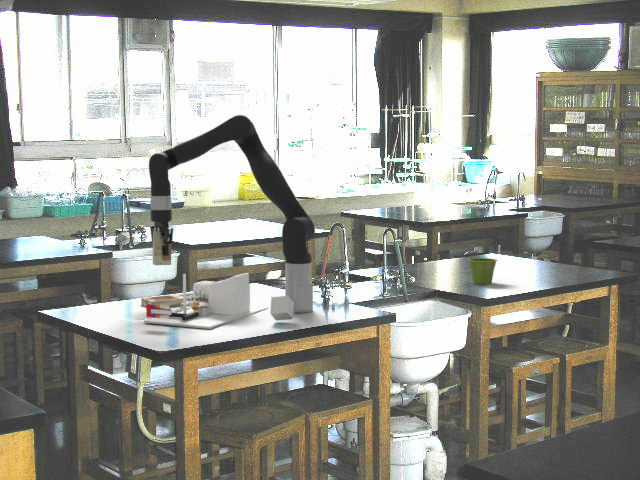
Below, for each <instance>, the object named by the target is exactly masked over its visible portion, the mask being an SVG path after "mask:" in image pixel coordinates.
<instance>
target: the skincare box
mask: <svg viewBox="0 0 640 480" xmlns="http://www.w3.org/2000/svg"><path fill="white" fill-rule="evenodd" d="M163 237H165V235H164V236H163ZM169 240H170V238H169ZM164 242H165V239H164ZM162 246H163V245H162V240H160V232H158V231H153V242H152V265H153V266H171V265H172V244H170V245H169V255H168V256H163V255H162Z"/></svg>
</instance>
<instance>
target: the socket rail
mask: <svg viewBox="0 0 640 480" xmlns="http://www.w3.org/2000/svg"><path fill="white" fill-rule="evenodd" d="M190 295H193V292H188V293H187V292H186V297H187V296H190ZM140 300H141V306H144V307H146V305H147V304H153V305H163V306H169V307H170V308H173V307H181V306H182V307H183V305H181V303H183V293H180V294H178V293H177V294H169V295H160V296H150V297H149V296H148V297H141V299H140ZM187 301H189V300H188V297H187ZM192 301H194V300H192Z"/></svg>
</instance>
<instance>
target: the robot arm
mask: <svg viewBox="0 0 640 480" xmlns="http://www.w3.org/2000/svg"><path fill="white" fill-rule="evenodd" d="M232 141H233V142H235V143H236V144H237V146H238V147H239V148H240V150H241V151H242V153H243V155H244V156H245V157H246V160H247V162H248V164H249V167H250V169H251V170H250V171H251V173H252V175H253V177H254V179H255V181H256V183H257V184H258V186H259V188H260V190H261V191H262V193H263V194H264V195H265V196H266V199H268V200H269V201H271V202H272V203H273V204H274V205H275V206H276V207H277V208H278V209H279V210H280V211H281V212H282V214H283V215H284V217H285V218H286V219H285V222H284V223H283V225H282V230H281V239H282V254H283V256H284V264H285V265H284V268H285V269H284V271H285V272H284V273H285V274H284V275H285V276H284V277H285V278H284V282H285V283H284V284H285V285H284V287H285V288H284V290H285V291H284V292H285V293H284V294H285V295H284V296H289V297H290V299H291V300H292V301H293V302H294V310H293V314H296V313H297V314H302V313H303V314H304V313H311V312H312V313H313V311H314V301H313V299H314V292H313V291H314V286H313V284H312V254H310V252H308V249H307V242H309V241H312V239H313V238H314V236H315V233H316V228H315V224H314V222H313V219H311V218H310V216H309V214H308V213H307V211H305V209H304V208H303V206H302V205H301V203H300V202H299V201H298V199H297V197H296V195H295V194H294V192H293V189H292V188H291V186H290V185H289V183H288V182H287V180H286V178H285V175H284V174H283V173H282V171H281V169H280V168H279V167H278V165H277V163H276V162H275V160H274V159H273V157H272V156H271V155H270V154H269V152H268V151H267V150H266V148H265V147H264V145H263V143H262V141H261V138H260V137H259V134H258V132H257V129H256V127H255V125H254V123H253V122H252V121H251V119H250V118H249V117H248V116H245V115H244V114H236V115H234V116H232V117H230V118H229V119H227V120H225V121H224V122H222V123H220V124H218V125H217V126H215V127H214V128H211V129H210V130H208V131H205V132H204V133H202V134H200V135H197V136H194V137H193V138H191V139H188V140H186V141H182V142H181V143H178V144H176V145H175V146H173V147H171V148H169V149H166V150H164V151H159V152H156V153H153V154H152V155H151V156H150V157H149V159H148V172H149V178H150V221H151V222H153V223H154V224H153V225H150V227H149V229H150V237H151V242H152V243H153V231H158V232H160V240H162V245H163V246H162V255H163V256H168V255H169V245H170V244H171V245H172V244H173V235H174V228H173V227H170V225H169V222H172V221H173V213H172V211H173V210H172V207H173V205H172V202H173V201H172V194H171V192H172V191H171V187H172V186H171V181H170V180H169V170H171V169H173V168H176V167H177V166H180V165H182V164H185V163H188V162H190V161H193V160H195V159H198V158H199V157H201V156H204V155H205V154H207V153H208V152H209V151H211V150H213V149H214V148H216V147H217V146H219V145H222V144H224V143H228V142H232ZM164 235H165V237H163V236H164ZM169 238H170V240H169ZM164 239H165V242H164Z"/></svg>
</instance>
